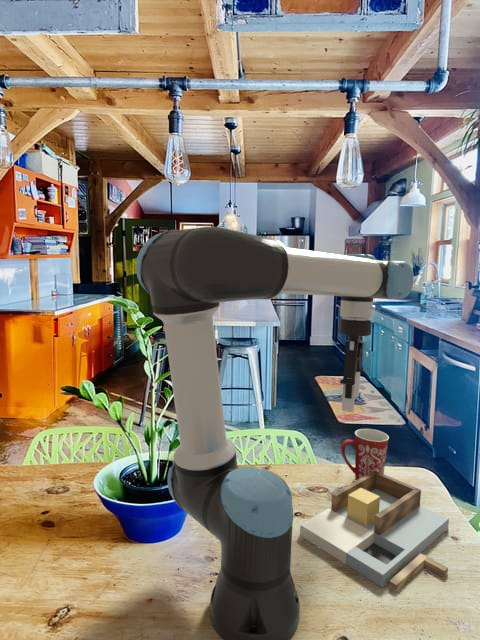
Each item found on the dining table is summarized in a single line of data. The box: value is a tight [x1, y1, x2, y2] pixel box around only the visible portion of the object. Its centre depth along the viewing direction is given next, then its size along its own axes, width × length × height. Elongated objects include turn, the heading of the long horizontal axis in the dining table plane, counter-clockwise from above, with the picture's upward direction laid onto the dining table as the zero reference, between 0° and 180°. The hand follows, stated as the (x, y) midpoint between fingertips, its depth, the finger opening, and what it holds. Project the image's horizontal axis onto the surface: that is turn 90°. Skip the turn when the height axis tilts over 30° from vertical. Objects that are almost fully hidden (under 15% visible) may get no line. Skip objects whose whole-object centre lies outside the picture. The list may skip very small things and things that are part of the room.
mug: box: [340, 428, 390, 481], centre depth 118 cm, size 13×9×14 cm
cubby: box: [330, 471, 422, 535], centre depth 100 cm, size 18×12×4 cm
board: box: [299, 489, 450, 588], centre depth 95 cm, size 28×20×2 cm
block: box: [347, 488, 380, 526], centre depth 97 cm, size 5×5×5 cm
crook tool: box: [388, 553, 449, 593], centre depth 81 cm, size 12×5×1 cm, turn 131°
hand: (350, 403), depth 106 cm, fingers open, 13 cm apart
